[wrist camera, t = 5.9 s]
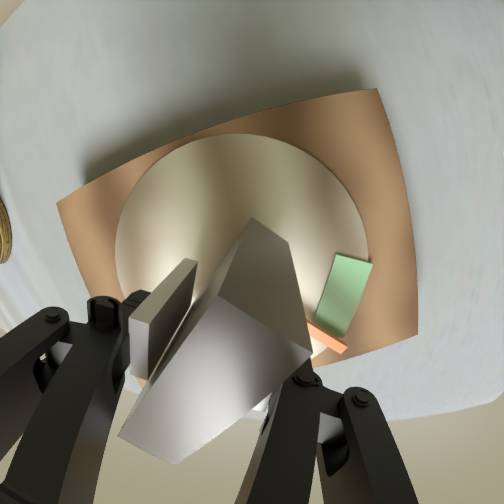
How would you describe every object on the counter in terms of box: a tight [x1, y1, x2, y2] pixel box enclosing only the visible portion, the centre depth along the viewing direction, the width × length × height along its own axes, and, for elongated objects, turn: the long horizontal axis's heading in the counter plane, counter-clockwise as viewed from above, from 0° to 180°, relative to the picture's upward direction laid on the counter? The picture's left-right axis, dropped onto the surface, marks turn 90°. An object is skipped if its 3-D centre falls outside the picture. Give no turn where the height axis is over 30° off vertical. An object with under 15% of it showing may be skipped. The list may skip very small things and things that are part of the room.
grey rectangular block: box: [118, 217, 347, 465], centre depth 12 cm, size 8×10×11 cm
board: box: [56, 88, 418, 388], centre depth 19 cm, size 24×18×4 cm
